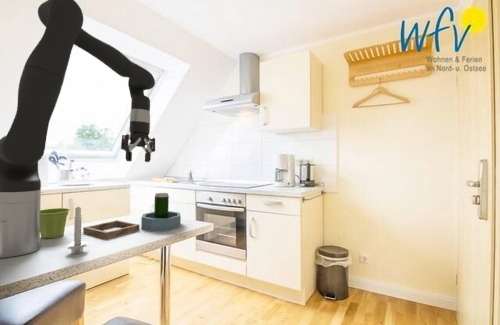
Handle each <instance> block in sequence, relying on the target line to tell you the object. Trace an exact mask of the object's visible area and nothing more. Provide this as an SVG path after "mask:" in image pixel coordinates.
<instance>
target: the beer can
mask: <svg viewBox="0 0 500 325" xmlns="http://www.w3.org/2000/svg"><path fill="white" fill-rule="evenodd" d="M169 197H170V196H169V193H168V192H157V193H155V195H154V208H153V212H154V219H156V218H168V211H169V203H170V202H169Z"/></svg>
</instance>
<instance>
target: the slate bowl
mask: <svg viewBox="0 0 500 325" xmlns="http://www.w3.org/2000/svg"><path fill="white" fill-rule="evenodd" d="M140 221H141V224H140V225H141V227H140V229H141V230H144V231H148V232H164V231H165V232H167V231H168V232H169V231H173V230H175V229H179V228H181V221H182V220H181V213H180V212H179V211H178V212H177V211H172V210H168V218H156V219H154V211H151V212H147V213H143V214H142V215H141V220H140Z"/></svg>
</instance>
